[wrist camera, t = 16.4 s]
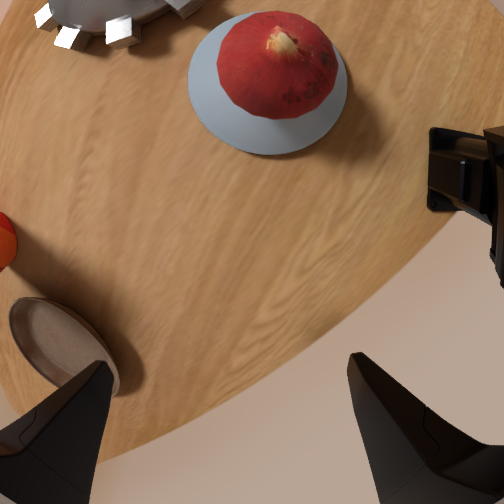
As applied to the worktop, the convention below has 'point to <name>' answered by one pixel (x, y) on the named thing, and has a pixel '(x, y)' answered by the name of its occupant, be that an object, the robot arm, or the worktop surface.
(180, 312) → the worktop surface
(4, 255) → the paper cup
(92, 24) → the sprocket
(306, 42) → the onion
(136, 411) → the worktop surface
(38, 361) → the saucer
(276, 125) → the coaster
